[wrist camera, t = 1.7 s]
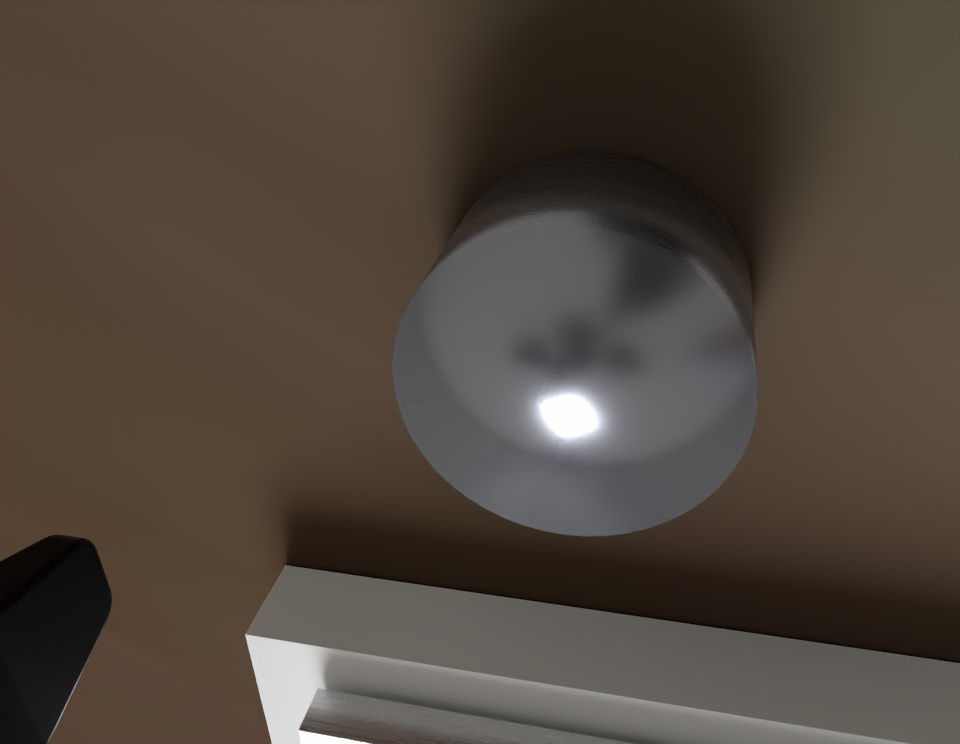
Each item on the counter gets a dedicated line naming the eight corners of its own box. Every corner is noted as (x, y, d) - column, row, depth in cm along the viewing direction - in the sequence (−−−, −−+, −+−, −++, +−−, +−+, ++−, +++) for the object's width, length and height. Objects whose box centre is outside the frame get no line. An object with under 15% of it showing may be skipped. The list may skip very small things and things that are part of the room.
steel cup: (772, 155, 13) (783, 238, 11) (732, 437, 16) (735, 556, 13) (437, 142, 14) (376, 215, 12) (454, 409, 17) (406, 514, 14)
